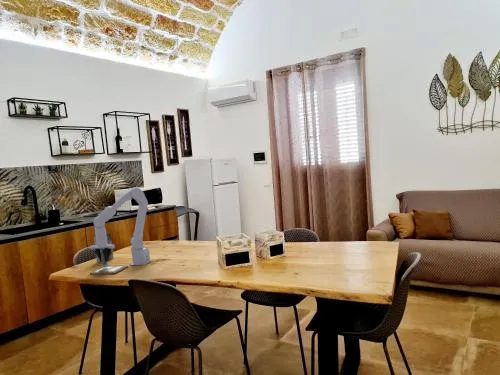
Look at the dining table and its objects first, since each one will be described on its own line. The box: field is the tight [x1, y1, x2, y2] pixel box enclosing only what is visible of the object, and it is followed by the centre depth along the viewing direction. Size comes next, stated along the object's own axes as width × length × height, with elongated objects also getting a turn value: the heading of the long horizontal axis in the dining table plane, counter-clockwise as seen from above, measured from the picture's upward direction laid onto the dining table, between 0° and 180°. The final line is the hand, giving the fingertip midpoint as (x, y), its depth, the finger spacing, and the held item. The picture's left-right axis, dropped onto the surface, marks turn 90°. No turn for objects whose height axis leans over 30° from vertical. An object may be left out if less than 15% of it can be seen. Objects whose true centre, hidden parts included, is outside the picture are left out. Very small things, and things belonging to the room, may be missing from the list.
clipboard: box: [89, 265, 129, 275], centre depth 207 cm, size 16×12×2 cm
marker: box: [100, 249, 109, 267], centre depth 209 cm, size 3×3×10 cm
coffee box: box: [93, 232, 114, 263], centre depth 233 cm, size 9×6×16 cm
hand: (104, 261), depth 209 cm, fingers closed on marker, 3 cm apart
